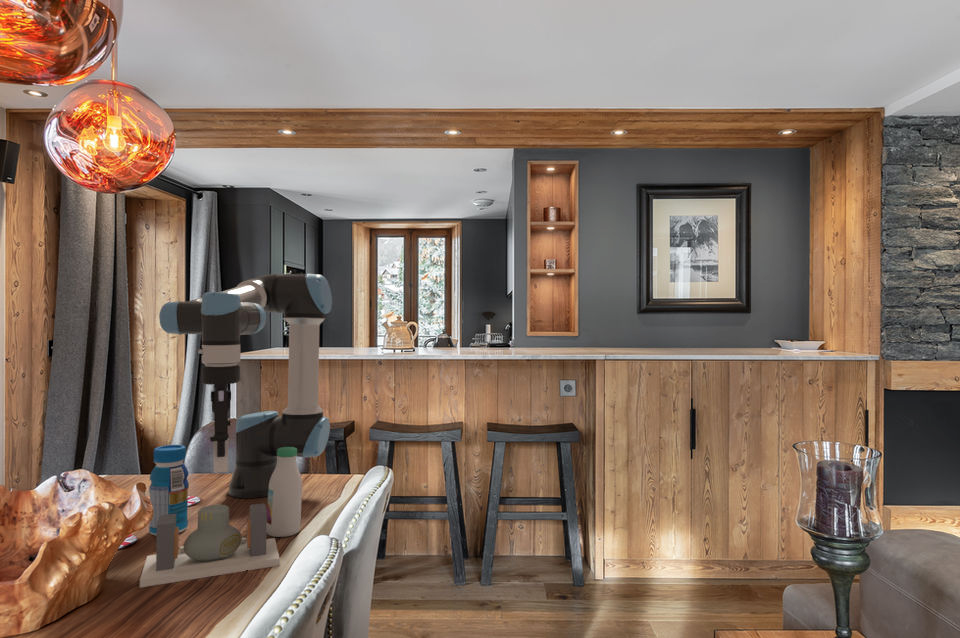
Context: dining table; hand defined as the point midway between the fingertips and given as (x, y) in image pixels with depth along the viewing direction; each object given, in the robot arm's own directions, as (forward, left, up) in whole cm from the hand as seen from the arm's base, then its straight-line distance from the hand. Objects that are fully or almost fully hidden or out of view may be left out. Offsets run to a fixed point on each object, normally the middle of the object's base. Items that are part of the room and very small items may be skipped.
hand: (220, 463), depth 122 cm
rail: (+3, -1, -20) cm, 20 cm away
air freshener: (+3, -1, -19) cm, 19 cm away
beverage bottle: (-22, -11, -20) cm, 32 cm away
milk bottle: (-10, +14, -20) cm, 26 cm away
